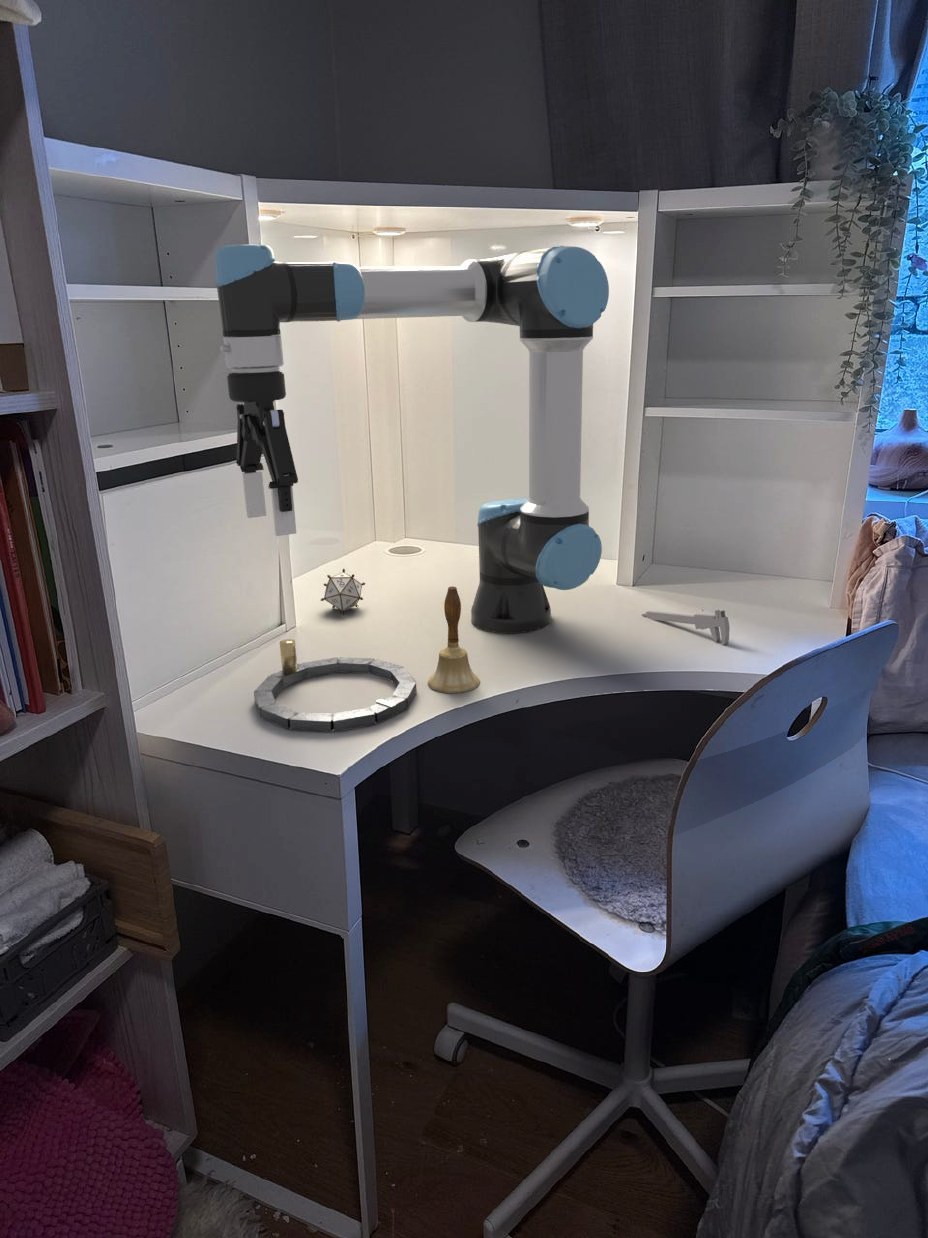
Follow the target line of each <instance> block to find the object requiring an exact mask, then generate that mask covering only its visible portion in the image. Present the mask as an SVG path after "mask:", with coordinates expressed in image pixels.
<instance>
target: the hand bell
mask: <svg viewBox="0 0 928 1238" xmlns="http://www.w3.org/2000/svg"><path fill="white" fill-rule="evenodd" d="M457 588H458V587H456V586H449V587H448V588H447V592H446V595H445V599H444V602H443V603H444V605H443V606H444V611H443V612H444V616H445V620H446V623H447V646H446V647H443V648H442V649H440V651H439V652H438V660H437V661H438V662H437V665H436V669H435V670H434V672H433V674H432V675H431V676H430V677H429V679H428V681H427V685H428V687H429V688H430V689H431V690H434V691H435V692H440V693H445V694H460V693H466V692H470V691H473V690H474V689H476V688H478V686H479V685H480V684H481V680H480V679H479V676H478V675H477V674H475V673H474V671H473V670H472V668H471V665H470V663H469V662H470V661H469V656H468V651H467V650H466V649H465V648H463V647H460V646H459V641H460V640H459V622H460V620H461V619H460V618H461V615H462V614H461V612H462V605H461V604H462V603H461V598H460V596H459V592H458V589H457Z"/></svg>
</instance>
